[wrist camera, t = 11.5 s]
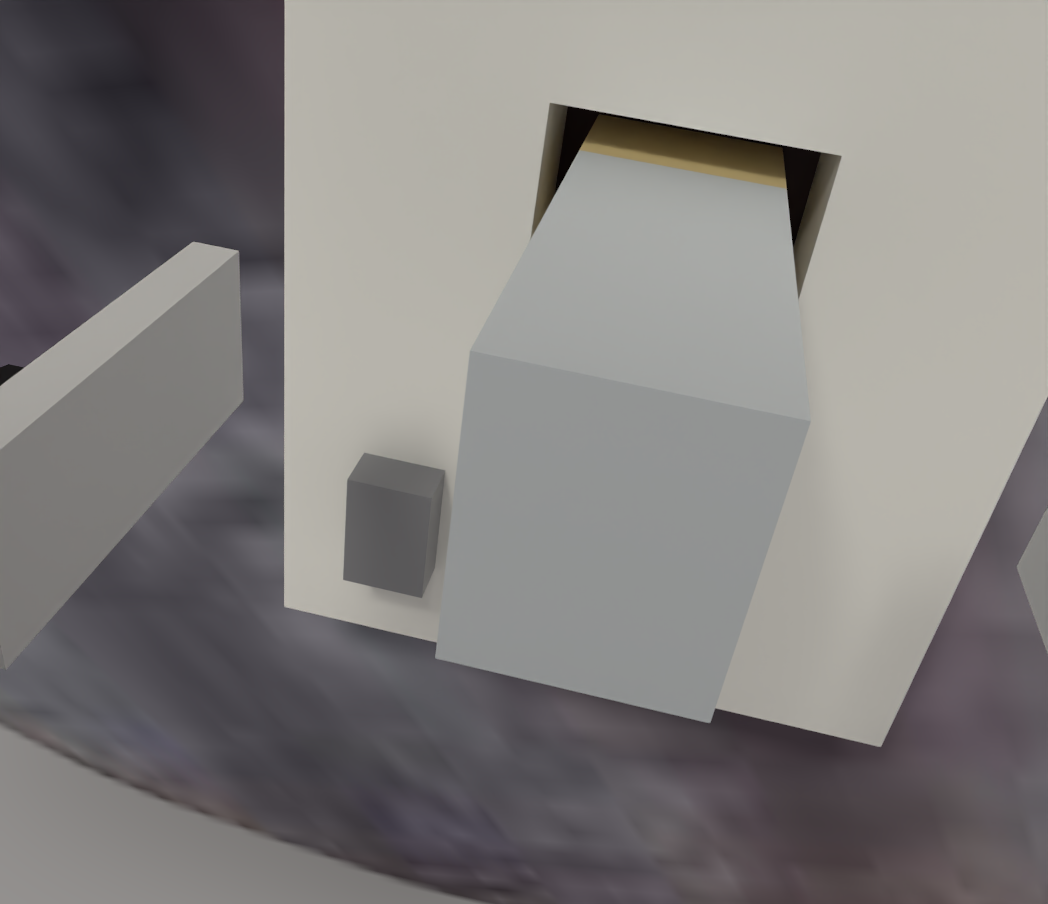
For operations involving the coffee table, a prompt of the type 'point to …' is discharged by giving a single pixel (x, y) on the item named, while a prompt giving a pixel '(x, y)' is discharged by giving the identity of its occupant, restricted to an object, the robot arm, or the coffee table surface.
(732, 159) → the plug
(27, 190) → the coffee table surface
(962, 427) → the socket plate
